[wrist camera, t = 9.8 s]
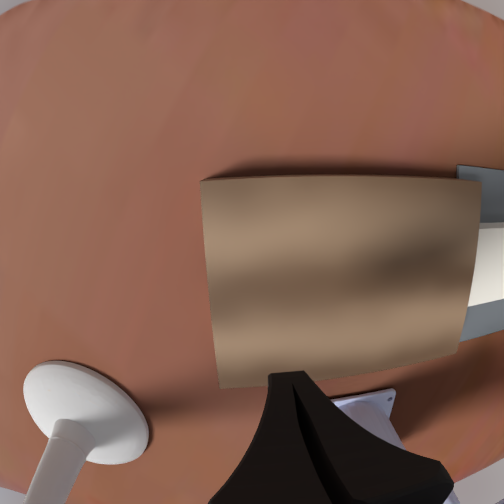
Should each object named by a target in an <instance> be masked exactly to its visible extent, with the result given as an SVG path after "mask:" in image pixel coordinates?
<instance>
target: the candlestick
mask: <svg viewBox="0 0 504 504" xmlns="http://www.w3.org/2000/svg"><path fill="white" fill-rule="evenodd" d="M23 390H24V398H25V402H26V405H27V408H28V410H29V412H30V414H31V416H32V418H33V419H34V421H35V423H36V424H37V425H38V427H39V428H40V429H41V430H42V431H43V433H44V434H45V435H46V436H47V437H48V438H49V440H48V444H47V446H46V449H45V451H44V453H43V456H42V458H41V460H40V463H39V465H38V467H37V470H36V472H35V475H34V477H33V479H32V482H31V484H30V487H29V489H28V492H27V495H26V497H25V500H24V502H23V504H65V502H66V500H67V497H68V495H69V493H70V491H71V489H72V487H73V484H74V482H75V480H76V478H77V476H78V474H79V472H80V470H81V468H82V466H83V464H84V463H85V462H86V460H87V461H91V462H94V463H100V464H122V463H126V462H130V461H132V460H134V459H136V458H138V457H139V456H140V455H141V454H142V453H143V452H144V450H145V449H146V446H147V443H148V438H149V430H148V425H147V422H146V420H145V417H144V415H143V414H142V412H141V410H140V409H139V407H138V406H137V405H136V403H135V402H134V401H133V400H132V399H131V398H130V397H129V396H128V395H127V394H126V393H125V392H124V391H123V390H122V389H121V388H119V387H118V386H117V385H116V384H114V383H113V382H112V381H110V380H109V379H107V378H105V377H104V376H102V375H100V374H99V373H97V372H95V371H93V370H91V369H89V368H86V367H84V366H81V365H78V364H75V363H71V362H66V361H47V362H43V363H40V364H38V365H37V366H35V367H34V368H33V369H32V370H31V371H30V372H29V374H28V375H27V377H26V379H25V382H24V389H23Z"/></svg>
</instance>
